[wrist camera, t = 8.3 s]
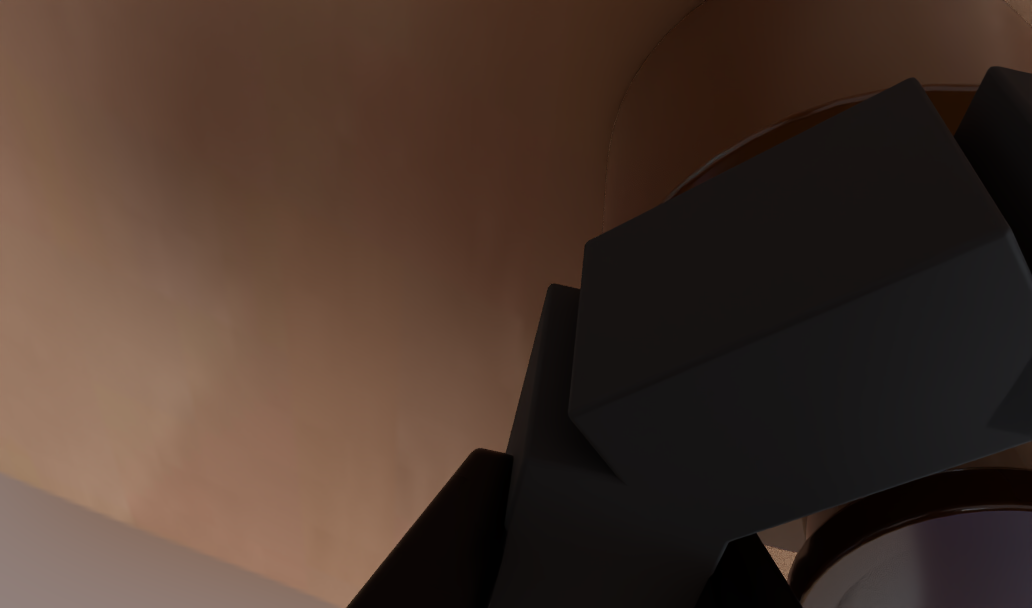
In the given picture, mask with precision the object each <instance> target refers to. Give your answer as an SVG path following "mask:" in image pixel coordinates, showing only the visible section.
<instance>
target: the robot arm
mask: <svg viewBox="0 0 1032 608" xmlns="http://www.w3.org/2000/svg"><path fill="white" fill-rule="evenodd" d="M512 465H513V456H512V455H510V454H506V453H502V452H497V451H492V450H488V449H483V448H478V449H475V450H474V451H473V452H471V454H470V455H469V456H468V457H467V458H466V460H465V461H464V462H463V463H462V465H461V466H460V467H459V468H458V470H457V471H456V472H455V473H454V475H453V476H452V477H451V478H450V480H449V481H448V482H447V483H446V485H445V486H444V487H443V488H442V490H441V491H440V492H439V493H438V494H437V496H436V497H435V498H434V499H433V501H432V502H431V503H430V504H429V506H428V507H427V508H426V509H425V511H424V512H423V513H422V514H421V516H420V517H419V518H418V519H417V521H416V522H415V523H414V524H413V525H412V527H411V528H410V529H409V530H408V532H407V533H406V534H405V535H404V537H403V538H402V539H401V540H400V542H399V543H398V544H397V545H396V547H395V548H394V549H393V550H392V552H391V553H390V554H389V555H388V557H387V558H386V559H385V560H384V561H383V563H382V564H381V565H380V566H379V568H378V569H377V570H376V571H375V573H374V574H373V575H372V576H371V578H370V579H369V580H368V581H367V583H366V584H365V585H364V586H363V588H362V589H361V590H360V591H359V593H358V594H357V595H356V596H355V597H354V599H353V600H352V601H351V602H350V604H349V605H348V606H347V607H346V608H489V606H490V602H491V599H492V595H493V591H494V588H495V584H496V581H497V577H498V574H499V570H500V567H501V563H502V559H503V554H504V549H505V543H506V536H507V532H506V529H505V526H504V523H505V516H506V508H507V501H508V494H509V487H510V480H511V473H512ZM694 608H803V607H802V605H801V604H800V602H799V600H798V599H797V597H796V596H795V594H794V592H793V591H792V589H791V588H790V586H789V584H788V583H787V581H786V579H785V578H784V576H783V575H782V573H781V571H780V570H779V568H778V567H777V565H776V563H775V562H774V560H773V559H772V557H771V555H770V554H769V552H768V551H767V549H766V547H765V546H764V544H763V543H762V541H761V539H760V538H759V536H758V535H757V533H755V534H752V535H749V536H745V537H742V538H739V539H736V540H733V541H730V542H729V543H728V545H727V547H726V549H725V551H724V553H723V555H722V557H721V559H720V561H719V563H718V565H717V567H716V569H715V571H714V573H713V575H711V576H710V578H709V579H708V581H707V583H706V585H705V587H704V589H703V591H702V593H701V595H700V597H699V599H698V601H697V603H696V605H695V607H694Z"/></svg>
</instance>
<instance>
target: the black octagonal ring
mask: <svg viewBox="0 0 1032 608" xmlns="http://www.w3.org/2000/svg"><path fill="white" fill-rule="evenodd" d="M1031 441H1032V74H1031V73H1027V72H1022V71H1018V70H1013V69H1009V68H1005V67H1000V66H993V67H990V68H989V69H988V70H987V72H986V74H985V76H984V78H983V80H982V82H981V84H980V86H979V88H978V90H977V91H976V93H975V95H974V97H973V99H972V101H971V103H970V105H969V107H968V109H967V111H966V113H965V115H964V117H963V119H962V121H961V123H960V125H959V127H958V129H957V130H956V132H955V134H954V136H953V135H952V133H951V132H950V130H949V129H948V127H947V125H946V124H945V122H944V121H943V119H942V118H941V116H940V114H939V113H938V111H937V110H936V108H935V106H934V105H933V103H932V102H931V100H930V98H929V97H928V95H927V94H926V92H925V90H924V89H923V87H922V86H921V84H920V82H919V81H918V80H917V79H916V78H914V77H912V78H908V79H906V80H904V81H902V82H900V83H898V84H896V85H894V86H892V87H890V88H888V89H886V90H884V91H882V92H880V93H878V94H876V95H874V96H872V97H870V98H868V99H867V100H865V101H863V102H861V103H859V104H857V105H855V106H853V107H851V108H849V109H847V110H845V111H843V112H841V113H839V114H837V115H835V116H833V117H831V118H829V119H827V120H825V121H823V122H821V123H819V124H817V125H815V126H813V127H811V128H810V129H808V130H806V131H804V132H802V133H800V134H798V135H796V136H794V137H792V138H790V139H788V140H786V141H784V142H782V143H780V144H778V145H776V146H774V147H772V148H770V149H768V150H766V151H764V152H762V153H760V154H758V155H756V156H754V157H752V158H751V159H749V160H747V161H745V162H743V163H741V164H739V165H737V166H735V167H733V168H731V169H729V170H727V171H725V172H723V173H721V174H719V175H717V176H715V177H713V178H711V179H709V180H707V181H705V182H703V183H701V184H699V185H697V186H695V187H694V188H692V189H690V190H688V191H686V192H684V193H682V194H680V195H678V196H676V197H674V198H672V199H670V200H668V201H666V202H664V203H662V204H660V205H658V206H656V207H654V208H652V209H650V210H648V211H646V212H644V213H642V214H640V215H638V216H637V217H635V218H633V219H631V220H629V221H627V222H625V223H623V224H621V225H619V226H617V227H615V228H613V229H611V230H609V231H607V232H605V233H603V234H601V235H599V236H597V237H595V238H593V239H591V240H589V241H588V242H587V243H586V244H585V248H584V258H583V268H582V278H581V288H580V289H577V288H572V287H568V286H563V285H559V284H551V285H550V286H549V287H548V290H547V293H546V297H545V301H544V305H543V309H542V313H541V317H540V321H539V325H538V329H537V333H536V337H535V340H534V344H533V348H532V352H531V356H530V360H529V364H528V368H527V372H526V376H525V380H524V384H523V387H522V391H521V395H520V399H519V403H518V407H517V411H516V415H515V419H514V423H513V427H512V431H511V434H510V438H509V442H508V446H507V450H506V454H510V455H512V456H513V465H512V473H511V480H510V487H509V494H508V501H507V508H506V516H505V523H504V526H505V529H506V532H507V536H506V543H505V549H504V554H503V559H502V563H501V567H500V570H499V574H498V577H497V581H496V584H495V588H494V591H493V595H492V599H491V602H490V606H489V608H694V607H695V605H696V603H697V601H698V599H699V597H700V595H701V593H702V591H703V589H704V587H705V585H706V583H707V581H708V579H709V578H710V576H711V575H713V573H714V571H715V569H716V567H717V565H718V563H719V561H720V559H721V557H722V555H723V553H724V551H725V549H726V547H727V545H728V543H729V542H730V541H733V540H736V539H739V538H742V537H745V536H749V535H752V534H755V533H758V532H761V531H764V530H767V529H770V528H773V527H776V526H779V525H782V524H785V523H788V522H791V521H794V520H797V519H800V518H803V517H806V516H809V515H812V514H815V513H818V512H821V511H824V510H827V509H830V508H833V507H836V506H839V505H842V504H845V503H848V502H851V501H854V500H857V499H860V498H863V497H866V496H869V495H872V494H875V493H878V492H881V491H884V490H887V489H890V488H893V487H896V486H899V485H902V484H905V483H908V482H911V481H914V480H917V479H920V478H923V477H926V476H929V475H932V474H935V473H938V472H941V471H944V470H947V469H950V468H953V467H956V466H959V465H962V464H965V463H968V462H971V461H974V460H977V459H980V458H983V457H986V456H989V455H992V454H995V453H998V452H1001V451H1004V450H1007V449H1010V448H1013V447H1016V446H1019V445H1022V444H1025V443H1028V442H1031Z"/></svg>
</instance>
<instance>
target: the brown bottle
mask: <svg viewBox="0 0 1032 608" xmlns="http://www.w3.org/2000/svg"><path fill="white" fill-rule="evenodd" d="M993 66H1000V67H1005V68H1009V69H1013V70H1018V71H1022V72H1027V73H1031V74H1032V27H1031V26H1030V25H1029V24H1028V23H1027V22H1026V21H1025V20H1024V19H1023V18H1022V17H1021V16H1020V15H1019V14H1018V13H1017V12H1016V11H1015V10H1014V9H1013V8H1012V7H1011V6H1010V5H1009V4H1007V3H1006V2H1005V1H1004V0H707V1H705V2H704V3H702V4H701V5H700V6H698V7H697V8H695V9H694V10H693V11H691V12H690V13H689V14H688V15H687V16H686V17H685V18H684V19H683V20H681V21H680V22H679V23H678V24H677V25H676V26H675V27H674V28H673V29H672V30H670V31H669V32H668V33H667V35H666V36H665V37H664V38H663V39H662V40H661V42H660V43H659V44H658V45H657V46H656V47H655V49H654V50H653V51H652V52H651V53H650V54H649V56H648V57H647V59H646V60H645V62H644V63H643V65H642V66H641V68H640V69H639V71H638V72H637V74H636V75H635V77H634V79H633V80H632V82H631V84H630V86H629V88H628V91H627V93H626V95H625V97H624V99H623V101H622V103H621V105H620V108H619V111H618V114H617V117H616V120H615V124H614V127H613V130H612V135H611V141H610V146H609V152H608V160H607V173H606V187H605V200H604V213H603V226H602V234H603V233H605V232H607V231H609V230H611V229H613V228H615V227H617V226H619V225H621V224H623V223H625V222H627V221H629V220H631V219H633V218H635V217H637V216H638V215H640V214H642V213H644V212H646V211H648V210H650V209H652V208H654V207H656V206H658V205H660V204H662V203H664V202H666V201H668V200H670V199H672V198H674V197H676V196H678V195H680V194H682V193H684V192H686V191H688V190H690V189H692V188H694V187H695V186H697V185H699V184H701V183H703V182H705V181H707V180H709V179H711V178H713V177H715V176H717V175H719V174H721V173H723V172H725V171H727V170H729V169H731V168H733V167H735V166H737V165H739V164H741V163H743V162H745V161H747V160H749V159H751V158H752V157H754V156H756V155H758V154H760V153H762V152H764V151H766V150H768V149H770V148H772V147H774V146H776V145H778V144H780V143H782V142H784V141H786V140H788V139H790V138H792V137H794V136H796V135H798V134H800V133H802V132H804V131H806V130H808V129H810V128H811V127H813V126H815V125H817V124H819V123H821V122H823V121H825V120H827V119H829V118H831V117H833V116H835V115H837V114H839V113H841V112H843V111H845V110H847V109H849V108H851V107H853V106H855V105H857V104H859V103H861V102H863V101H865V100H867V99H868V98H870V97H872V96H874V95H876V94H878V93H880V92H882V91H884V90H886V89H888V88H890V87H892V86H894V85H896V84H898V83H900V82H902V81H904V80H906V79H908V78H912V77H914V78H916V79H917V80H918V81H919V82H920V84H921V86H922V87H923V89H924V90H925V92H926V94H927V95H928V97H929V98H930V100H931V102H932V103H933V105H934V106H935V108H936V110H937V111H938V113H939V114H940V116H941V118H942V119H943V121H944V122H945V124H946V125H947V127H948V129H949V130H950V132H951V133H952V135H953V136H954V134H955V132H956V130H957V129H958V127H959V125H960V123H961V121H962V119H963V117H964V115H965V113H966V111H967V109H968V107H969V105H970V103H971V101H972V99H973V97H974V95H975V93H976V91H977V90H978V88H979V86H980V84H981V82H982V80H983V78H984V76H985V74H986V72H987V70H988V69H989V68H990V67H993ZM757 535H758V536H759V538H760V539H761V541H762V543H763V544H764V545H767V546H771V547H775V548H779V549H783V550H787V551H792V552H798V553H797V555H796V557H795V559H794V562H793V564H792V566H791V569H790V571H789V574H788V579H787V583H788V584H789V586H790V588H791V589H792V591H793V592H794V594H795V596H796V597H797V599H798V600H799V602H800V604H801V605H802V607H803V608H1032V441H1031V442H1028V443H1025V444H1022V445H1019V446H1016V447H1013V448H1010V449H1007V450H1004V451H1001V452H998V453H995V454H992V455H989V456H986V457H983V458H980V459H977V460H974V461H971V462H968V463H965V464H962V465H959V466H956V467H953V468H950V469H947V470H944V471H941V472H938V473H935V474H932V475H929V476H926V477H923V478H920V479H917V480H914V481H911V482H908V483H905V484H902V485H899V486H896V487H893V488H890V489H887V490H884V491H881V492H878V493H875V494H872V495H869V496H866V497H863V498H860V499H857V500H854V501H851V502H848V503H845V504H842V505H839V506H836V507H833V508H830V509H827V510H824V511H821V512H818V513H815V514H812V515H809V516H806V517H803V518H800V519H797V520H794V521H791V522H788V523H785V524H782V525H779V526H776V527H773V528H770V529H767V530H764V531H761V532H758V533H757Z"/></svg>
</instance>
